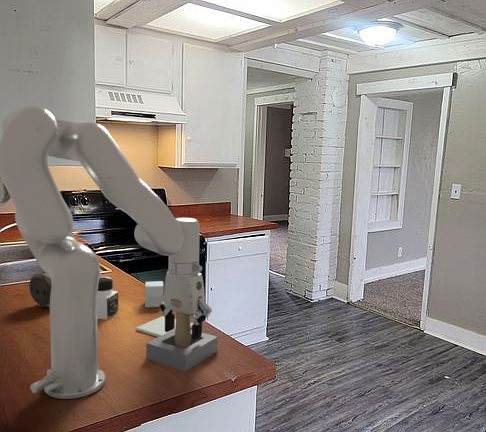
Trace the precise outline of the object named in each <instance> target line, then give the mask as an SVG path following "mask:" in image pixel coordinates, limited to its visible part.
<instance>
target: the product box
mask: <svg viewBox="0 0 486 432" xmlns="http://www.w3.org/2000/svg"><path fill="white" fill-rule="evenodd" d="M144 283H145V287H144V288H145V289H144V291H145V292H144V307H145V308H160V305H159V304H158V301H157V297H159V296H161V295H162V294H164V281H163V280H158V281H145V282H144Z"/></svg>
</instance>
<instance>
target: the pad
mask: <svg viewBox="0 0 486 432" xmlns="http://www.w3.org/2000/svg"><path fill="white" fill-rule="evenodd" d="M193 324H194V322H190V329H192V325H193ZM175 327H176V318H175ZM174 329H175V328H174ZM174 329H173V330H174ZM135 330H136V331H138V332H140V333H145V334H147V335H151V336H154V337H156V338H158V337H160V336H162V335H164V334H166V333H168V332H165V317H164V316H163V315H162V316H160V317H157V318H154V319H152V320H150V321H148V322H145V323H143V324H141V325H139V326H136V327H135ZM171 331H172V330H171ZM169 332H170V331H169Z"/></svg>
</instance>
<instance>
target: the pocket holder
mask: <svg viewBox="0 0 486 432" xmlns="http://www.w3.org/2000/svg"><path fill="white" fill-rule="evenodd" d="M145 344H146V345H145V348H146V349H145V354H146V355H145V358H146V359H147V360H150V361H152V362H153V361H154V362H157V363H159V364H163V365H166V366H168V367H171V368H173V369H177V370H179V371H183V372H187V371H189V370H191V369H192V368H193V367H195V366H197V365H198V364H200V363H202V361H204V360H206V359H207V358H209V357H211V356H212V355H214V354H216V353H217V352H218V336H216V335H212V334H209V333H206V332H202V335H201V337H199V338H198V339H196V340H192V329H191V339H190V346H189V347H187V348H185V349H182V348H178V347H176V346H175V329H174V330H172V331H170V332H168V333H166V334H164V335H162V336H160V337H156V338H154V339H151V340H149V341H148V342H146V343H145Z"/></svg>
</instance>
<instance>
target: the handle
mask: <svg viewBox="0 0 486 432" xmlns="http://www.w3.org/2000/svg"><path fill="white" fill-rule="evenodd" d="M171 305H173V306H174V307H177V308H179V307H182V303H181V301H176V300H172V299H171ZM175 312H176V311H175ZM175 319H176V327H175V346H176V347H178V348H182V349H185V348H187V347H189V346H190V339H191V330H192V328H190V323H191V315H188V314H184V313H180V312H176V315H175Z"/></svg>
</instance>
